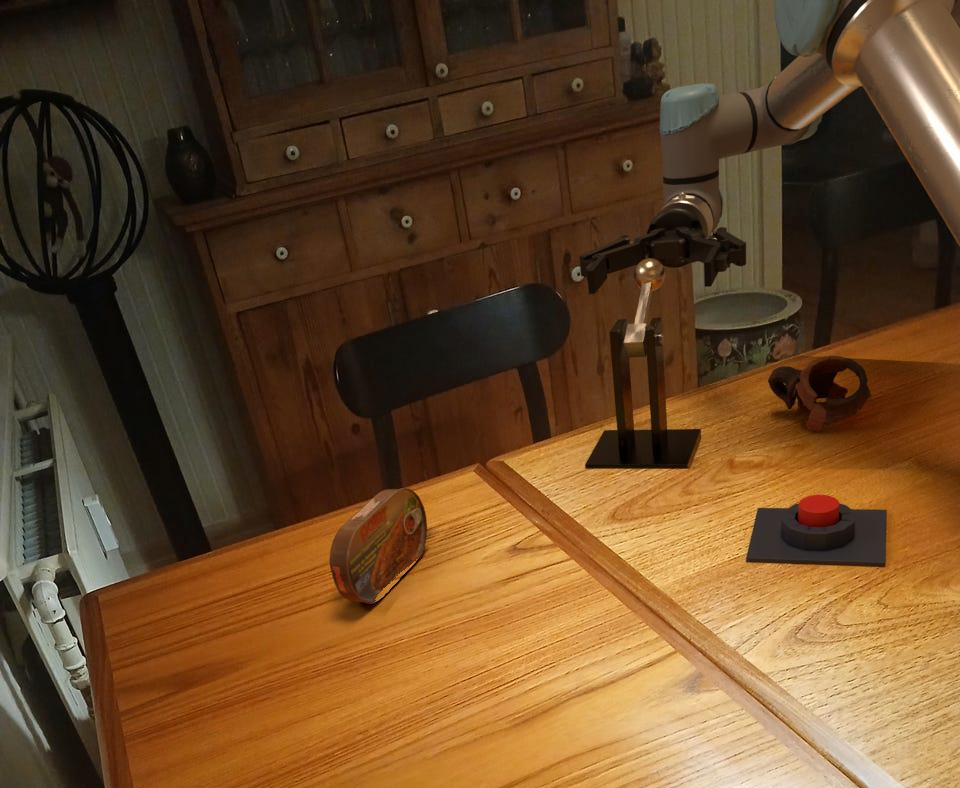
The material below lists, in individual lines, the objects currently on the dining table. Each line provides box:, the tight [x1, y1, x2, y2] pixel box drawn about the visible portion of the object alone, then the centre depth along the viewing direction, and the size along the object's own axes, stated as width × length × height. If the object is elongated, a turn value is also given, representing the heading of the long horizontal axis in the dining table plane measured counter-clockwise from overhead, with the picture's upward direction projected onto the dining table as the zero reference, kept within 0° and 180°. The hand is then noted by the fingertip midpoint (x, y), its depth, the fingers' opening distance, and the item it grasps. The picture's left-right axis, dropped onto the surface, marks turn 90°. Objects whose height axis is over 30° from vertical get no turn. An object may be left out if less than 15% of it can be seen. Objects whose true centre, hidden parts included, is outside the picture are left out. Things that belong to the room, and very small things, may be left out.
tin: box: [329, 487, 428, 605], centre depth 100 cm, size 15×3×8 cm, turn 154°
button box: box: [745, 502, 888, 568], centre depth 93 cm, size 12×10×4 cm
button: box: [798, 494, 841, 527], centre depth 91 cm, size 4×4×2 cm
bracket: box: [584, 316, 702, 470], centre depth 114 cm, size 10×12×16 cm
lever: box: [624, 257, 666, 359], centre depth 112 cm, size 13×4×4 cm, turn 161°
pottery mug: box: [767, 355, 872, 432], centre depth 118 cm, size 12×10×8 cm
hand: (647, 278), depth 114 cm, fingers open, 13 cm apart
